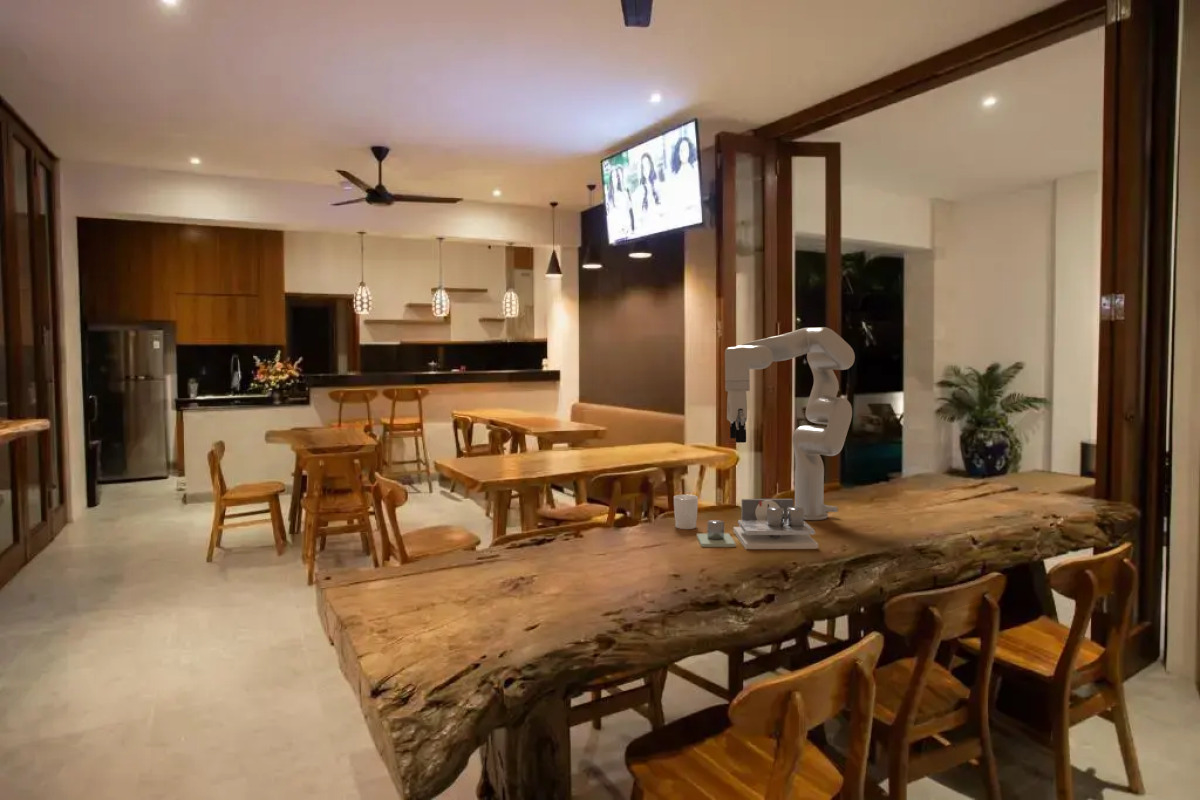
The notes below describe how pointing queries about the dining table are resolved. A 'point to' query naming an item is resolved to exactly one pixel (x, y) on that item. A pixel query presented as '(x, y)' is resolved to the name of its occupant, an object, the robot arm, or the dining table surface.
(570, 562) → the dining table surface
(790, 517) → the steel spacer
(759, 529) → the scale pan
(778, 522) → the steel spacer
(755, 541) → the scale housing
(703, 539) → the green pad
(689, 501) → the white cup
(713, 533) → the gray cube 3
